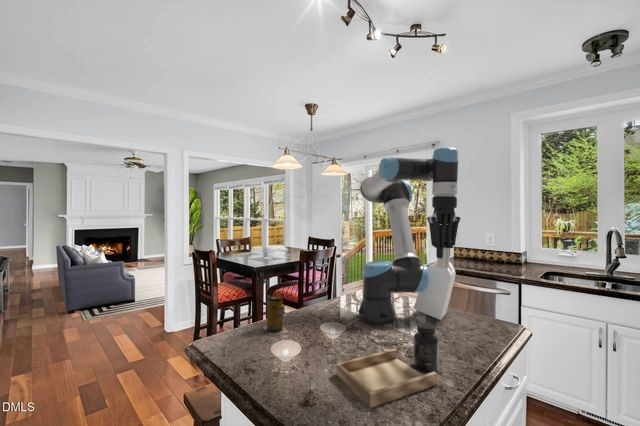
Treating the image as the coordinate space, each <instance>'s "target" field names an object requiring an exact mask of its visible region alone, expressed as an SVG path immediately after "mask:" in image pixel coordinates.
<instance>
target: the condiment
mask: <svg viewBox="0 0 640 426" xmlns="http://www.w3.org/2000/svg"><path fill="white" fill-rule="evenodd" d="M283 303H284V301H283V297H282V296H280V295H271V296H269V297H268V303H267V305H266V308H267V309H266V326H262V328H263V329H264V331H265V333H267V334H268V335H269V336H274V335H282V334H286V333H287V334H288V333H289V331H288V330H287V329H286V328H285V327H284V310H285V309H284V304H283Z"/></svg>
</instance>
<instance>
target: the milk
mask: <svg viewBox="0 0 640 426" xmlns="http://www.w3.org/2000/svg"><path fill="white" fill-rule="evenodd" d="M426 267H427V268H428V274H429V278H428V283H427V286H426V288H425V290H424V291H422V292H417V293H418V294H417V295H416V296H417V297H416V300H415V302H414V306H413V310H416V311H418V312H421V313H423V314H425V315H427V316H429V317H432V318H434V319H437V320H439V321H441V320H442V319H443V318H444V316H445V315H446V314H447V312H448V308H449V304H450V301H451V296H452V291H453V289H454V288H453V287H454V283H455V278H456V274H457V273H456V269H455V268H454V266H453V264H452V262H450V261H449V268H445V269H442V268H438V267H437V261H436V262H434V263H433V264H430V265H429V266H426Z"/></svg>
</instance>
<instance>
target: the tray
mask: <svg viewBox="0 0 640 426" xmlns="http://www.w3.org/2000/svg"><path fill="white" fill-rule="evenodd" d="M398 351H399V350H398V348H392V349H387V350H384V351H380V352H376V353H372V354H369V355H364V356H359V357H356V358H353V359H349V360H345V361H341V362H337V363H336V364H335V368H336V369H335V375H336V376H337V378H338V379H339V380H341V382H342V383H344V384H345V385H346V386H347V387H348V388H349V389H350V390H352V392H353V393H354V394H355V395H357V397H359V398H360V399H361V400H362V402H364V403H365V404H366V405H367V406H369V405H370V406H369V407H370V408H376V407H378V406H381V405H384V404H386V402H387V403H389V402H392V401H394V400H397V399H400V398H403V397H406V396H409V395H411V394H414V393H418V392H420V391H424V390H427V389H429V388H432V387H435V386H437V385H438V372H436V371H435V372H431V373H426V374H423V373H421V372H420V371H419V370H417V369H414V368H413V367H412V366H409V365H408V364H406V363H405V362H403V361H402V360H400V359H399V358H398V356H399V354H398ZM383 403H384V404H383ZM380 404H381V405H380ZM377 405H378V406H377Z"/></svg>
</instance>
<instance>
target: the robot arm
mask: <svg viewBox="0 0 640 426" xmlns="http://www.w3.org/2000/svg"><path fill="white" fill-rule="evenodd" d="M458 153H459V152H458V149H457V148H455V147H440V148H436V149H434V150H433V155H432V158H406V157H391V156H390V157H384V158H382V159H381V160H380V162H379V164H378V170H377V171H376V172H375V173H374V174H373V175H372V176H369V177H366V178H365V179H364V180H363V181H362V182H361V183H360V187H359V190H360V194H361V196H362V197H363V198H364V199H365V200H366V201H368V202H371V203H375V204H383V208H384V210H386V211H387V212H388V219H389V224H390V226H389V227H390V232H391V237H392V238H391V239H392V245H393V251H394V257H395V258H394V259H393V260H392V261H391V260H384V259H383V260H381V259H380V260H372V261H369V262H367V263H365V264H364V265H363V271H362V300H361V301H360V302H361V303H360V306H359V308H358V312H357V315H358V319H359V320H360V321H362V322H364V323H368V324H373V325H387V324H392V323H394V322H395V320H396V312H395V308H394V306H393V302H392V293H393V294H394V293H395V294H396V293H397V294H398V293H401V294H402V293H405V294H406V293H412V294H414V293H419V292H422V291H424V290H425V288H426V286H427V283H428V278H429V274H428V268H427V267H428V266H427V265H426V264H424V263H422V262H421V258H420V257H419V256H417V255H416V251H415V246H414V245H415V244H414V240H413V235H412V230H411V225H410V223H411V222H410V219H409V213H408V209H407V208H408V207H409V205H410V202H411V201H412V199H413V188H412V186H411V184H410V182H409V181H410V180H411V181H423V182H431V181H432V190H431V193H432V195H433V197H432V199H431V202H432V203H431V206H432V208H433V212H432V215H431V216H427V218H426V220H427V222H428V225H429V234H430V242H431V246H432V247H433V248H436V259H437V260H436V262H437V267H438V268H442V269H445V268H449V262H450V257H451V249H453V248H454V246H456V241H457V235H458V228H459V222H460V221H461V217H460V216H457V215H456V212H455V209H457V208H458V198H457V196H456V195H458V175H459V174H458V171H459V170H458V169H459V154H458Z"/></svg>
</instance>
